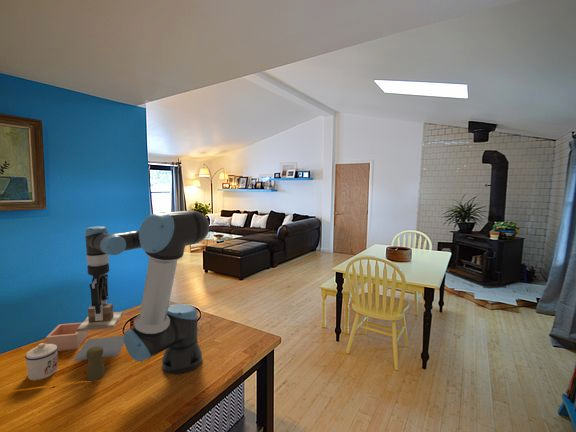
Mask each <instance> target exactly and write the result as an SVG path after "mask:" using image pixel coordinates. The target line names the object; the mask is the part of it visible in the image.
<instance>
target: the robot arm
mask: <svg viewBox="0 0 576 432" xmlns="http://www.w3.org/2000/svg"><path fill="white" fill-rule="evenodd" d="M209 232H210V223H209V220H208V218H207V217H206V216H205V215H204V214H203V213H202V212H199V211H197V210H193V209H192V210H190V209H189V210H182V211H171V212H169V211H167V212H166V211H165V212H164V211H163V212H158V213H152V214H150V215H148V216H146V217H145V218H144V219H143V221H142V223H141V224H140V227H139V230H133V231H132V230H131V231H124V232H117V233H108V228H107V227H106V226H103V225H102V226H100V225H98V226H97V225H96V226H90V227H86V229H85V232H84V233H85V235H84V238H85V249H86V250H85V251H86V256H85V259H86V261H87V262H86V264H87V274H88V275H89V276H92V279H91V283H89V289H90V300H91V305H92V307H94V308H95V321H100V320H103V305H101V304H108V303H107V300H109V298H110V297H109V286H108V285H109V284H108V277H109V275H108V273H109V272H110V263H109V262H110V258H109V257H110V256H116V255H117V256H118V255H120V254H122V253H124V252H126V251H130V250H136V249H141V248H142V250H143V251H144V252H145V255H146V256H148V263H147V270H146V276H145V281H144V286H143V287H144V289H143V295H142V301H141V305H140V313H139V314H138V315H137V316H136V317H135V318H134V321H133V326H132V328H128V329H127V330H126V331H125V332H124V334H123V336H124V345H125V350H126V351H127V353H128V354H129V356H130V358H132V359H133V360H134V361H136V362H140V363H141V362H144V361H146V360H149V359H151V358H152V357H154V356H156V355H158V354H159V353H162V352H163V351H164V353H163V356H162V359H161V360H162V361H161V367H162V370H163V371H164V372H166V373H168V374H172V375H181V374H186V373H189V372H192V371H193V370H195V369H196V368H198V367H199V366H200V365H201V363H202V361H203V353H202V349H201V347H200V345H199V342H198V317H199V316H198V311H197V308H196V306H195V307H194V306H193V305H190V304H185V303H184V304H182V303H180V304H179V303H177V304H173V305H170V300H171V297H172V290H173V286H174V278H175V276H176V269H177V265H178V260H180V259H182V258H183V257H184V253H185V248H186V247H187V246H190V245H191V246H192V245H195V244H197V243H200V242H202V241H203V240H205V239H206V237H207V236H208V234H209Z"/></svg>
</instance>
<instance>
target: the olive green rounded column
mask: <svg viewBox="0 0 576 432" xmlns="http://www.w3.org/2000/svg"><path fill="white" fill-rule="evenodd" d="M102 354H103V348H102V347H101V346H94V347H92V348H90V349H89V350H88V351H87V354H86V356H87V358H88V359H87V360H88V361H87V368H86V369H87V370H86V379H87V380H86V381H88V382H97V381H99V380H101V379H102V377H104V376H105V374H106V373H107V372H106V367H105V363H104V359H103V358H104V357H103V358H102Z"/></svg>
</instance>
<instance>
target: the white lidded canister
mask: <svg viewBox="0 0 576 432" xmlns="http://www.w3.org/2000/svg"><path fill="white" fill-rule="evenodd" d="M57 349H58V347H57V346H56V345H54V344H46V342H44V343H43V342H41V343H39V344H38V345H37V346H36V347H33V348H32V349H30V350H28V351H27V352H26V353H25V357H24V358H25V359H26V360H25V361H26V368H27V369H26V370H27V372H26V373H27V379H28V380H30V381H38V380H43V379H46V378H48V377H51V376H52V375H54V374H55V373H56V372H58V371H59V370H58V369H59V361H58V360H59V358H58V351H57Z"/></svg>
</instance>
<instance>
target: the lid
mask: <svg viewBox="0 0 576 432" xmlns="http://www.w3.org/2000/svg"><path fill="white" fill-rule="evenodd" d="M101 305H103V320H100V321H95V308H94V307H92V304H91V305H90V306H89V307H88V308H87V317H86V318H85V320H84V321H82V322H83V323H82V322H81V323H82V324H81V325H80V326H79V327H78V328H77V332H80V331H88V332H89V331H98V330H99V331H101V330H110V329H114V328H115V327H116V325H117V324H118V323H119V321H120V319H121V318H122V316H123V315H124V311H114V304H113V303H112V302H111V303H107V304H101Z"/></svg>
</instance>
